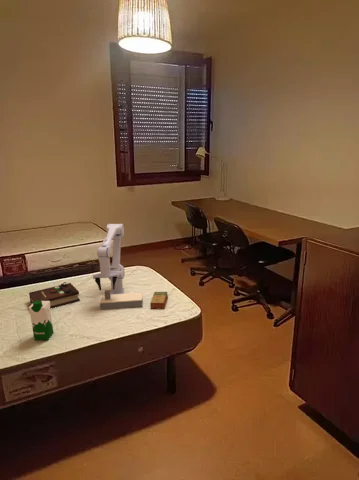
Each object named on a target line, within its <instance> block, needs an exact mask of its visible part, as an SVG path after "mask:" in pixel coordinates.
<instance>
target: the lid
mask: <svg viewBox="0 0 359 480" xmlns="http://www.w3.org/2000/svg"><path fill="white" fill-rule="evenodd" d="M142 298H143V292H135V293H134V292H130V293H124V294H113V295H111V290H110V289H106V290H104V294H103V295H101V298H100V302H99V304H100V303H115V302H131V301H142Z"/></svg>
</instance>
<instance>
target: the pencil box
mask: <svg viewBox="0 0 359 480" xmlns="http://www.w3.org/2000/svg"><path fill="white" fill-rule="evenodd" d="M143 299H144V298H143V297H142V301H131V302H115V303H100V302H99V305H100V310H115V309H116V310H117V309H130V308H142V307H143V305H144V303H143Z"/></svg>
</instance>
